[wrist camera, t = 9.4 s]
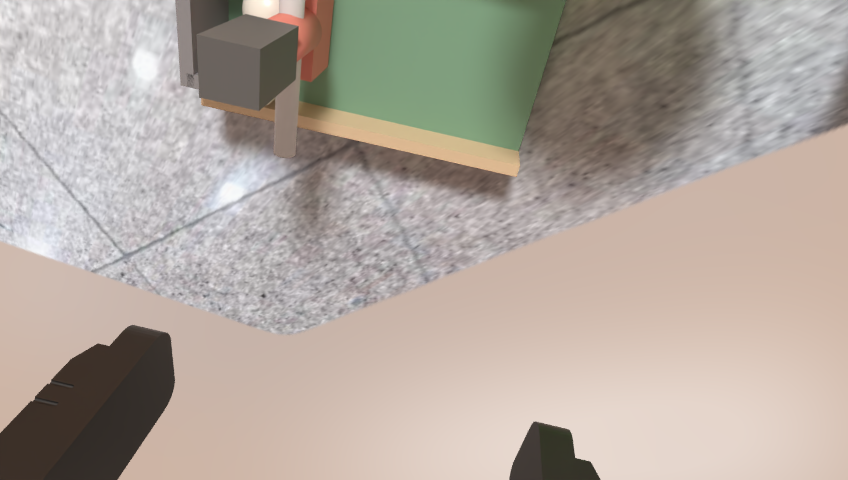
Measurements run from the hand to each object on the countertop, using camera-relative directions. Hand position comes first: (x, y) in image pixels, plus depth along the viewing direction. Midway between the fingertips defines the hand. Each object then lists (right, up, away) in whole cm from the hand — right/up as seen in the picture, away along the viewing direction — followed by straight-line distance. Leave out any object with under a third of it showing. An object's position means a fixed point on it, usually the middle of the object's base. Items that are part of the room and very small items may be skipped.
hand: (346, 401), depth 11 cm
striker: (-6, +21, +29) cm, 36 cm away
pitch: (-2, +20, +30) cm, 36 cm away
